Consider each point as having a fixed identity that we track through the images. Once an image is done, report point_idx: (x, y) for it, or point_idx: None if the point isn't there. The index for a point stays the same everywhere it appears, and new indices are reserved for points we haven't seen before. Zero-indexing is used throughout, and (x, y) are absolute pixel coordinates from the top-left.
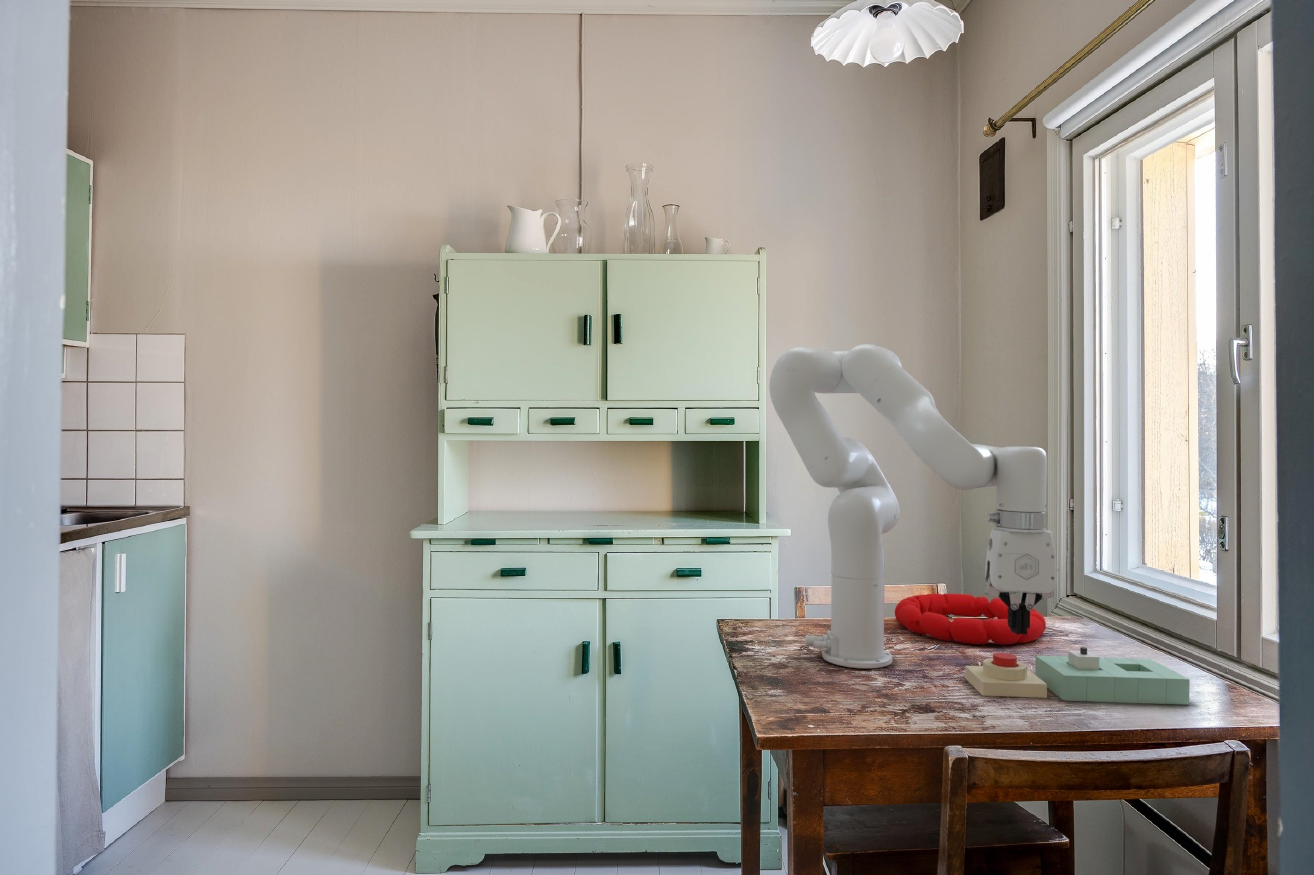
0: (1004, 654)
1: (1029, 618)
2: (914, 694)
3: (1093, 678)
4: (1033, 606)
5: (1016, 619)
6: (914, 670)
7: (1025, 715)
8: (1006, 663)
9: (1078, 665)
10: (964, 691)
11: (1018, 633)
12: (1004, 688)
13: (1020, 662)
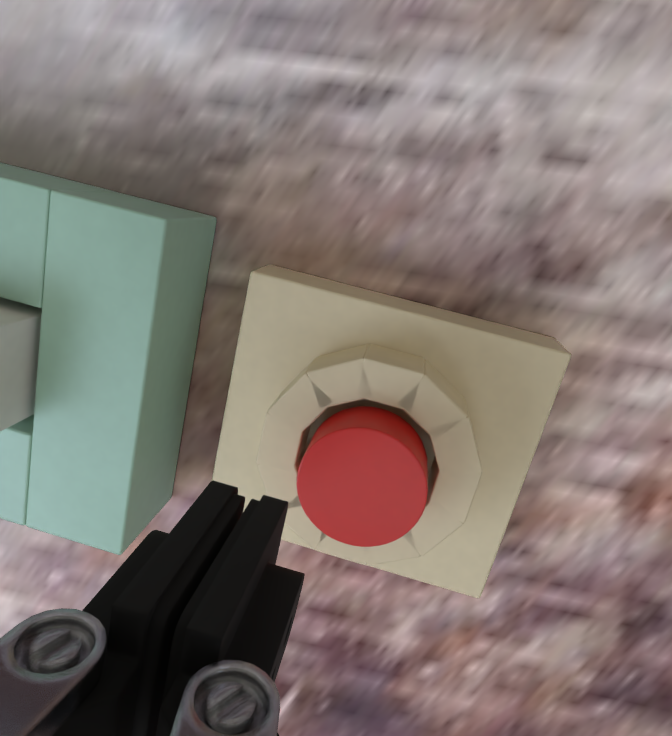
0: (350, 506)
1: (119, 574)
2: None
3: (25, 180)
4: (9, 632)
5: (250, 594)
6: (631, 699)
7: (535, 39)
8: (392, 423)
9: (14, 320)
10: (598, 411)
11: (279, 499)
12: (458, 319)
13: (266, 470)
